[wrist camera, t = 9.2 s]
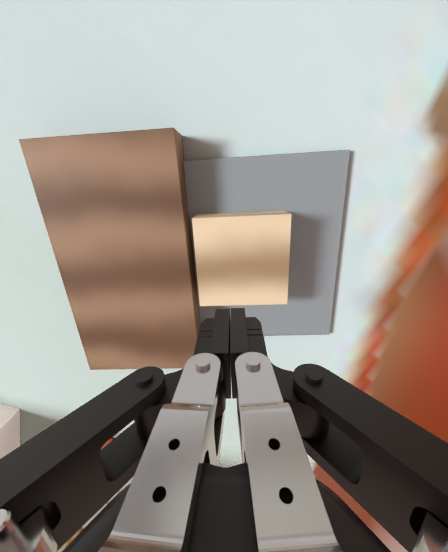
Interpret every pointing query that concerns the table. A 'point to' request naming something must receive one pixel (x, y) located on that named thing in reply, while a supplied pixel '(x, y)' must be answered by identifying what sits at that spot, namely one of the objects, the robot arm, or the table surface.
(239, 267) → the maple tile
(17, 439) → the storage container
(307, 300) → the rubber mat
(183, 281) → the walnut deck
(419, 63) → the table surface
